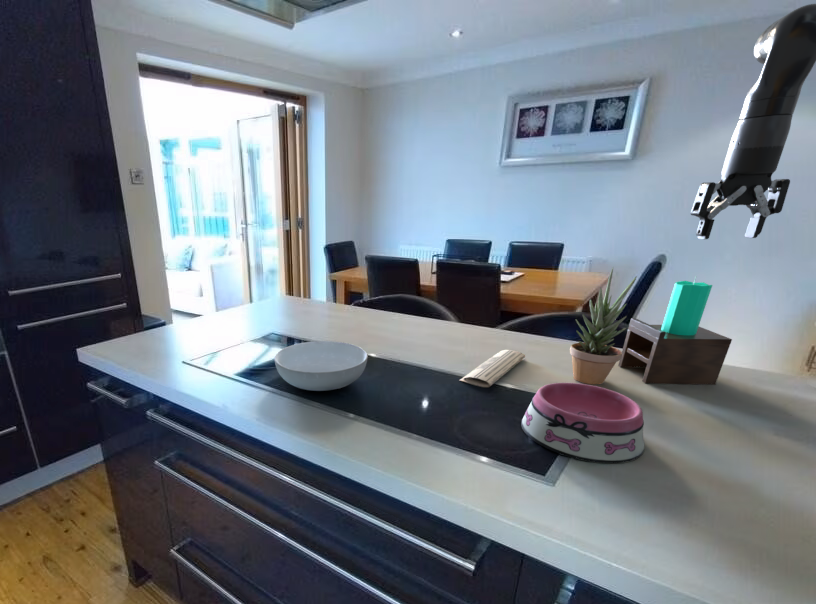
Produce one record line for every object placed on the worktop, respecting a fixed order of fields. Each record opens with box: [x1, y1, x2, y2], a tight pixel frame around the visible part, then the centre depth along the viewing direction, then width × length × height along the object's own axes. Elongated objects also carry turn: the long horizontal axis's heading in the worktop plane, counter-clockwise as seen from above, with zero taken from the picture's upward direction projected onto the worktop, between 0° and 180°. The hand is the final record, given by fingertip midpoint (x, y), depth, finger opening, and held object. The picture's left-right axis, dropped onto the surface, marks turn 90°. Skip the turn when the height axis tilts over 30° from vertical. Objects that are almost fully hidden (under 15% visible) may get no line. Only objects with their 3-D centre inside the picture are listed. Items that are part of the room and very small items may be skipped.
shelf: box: [618, 317, 733, 386], centre depth 98 cm, size 14×11×12 cm
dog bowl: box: [520, 382, 645, 464], centre depth 76 cm, size 18×19×7 cm
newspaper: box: [458, 349, 526, 388], centre depth 106 cm, size 24×7×2 cm, turn 138°
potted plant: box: [569, 267, 638, 385], centre depth 94 cm, size 10×10×25 cm
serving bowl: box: [274, 340, 368, 392], centre depth 100 cm, size 21×21×7 cm
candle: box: [661, 275, 713, 335], centre depth 94 cm, size 6×6×12 cm
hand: (726, 238), depth 87 cm, fingers open, 8 cm apart
